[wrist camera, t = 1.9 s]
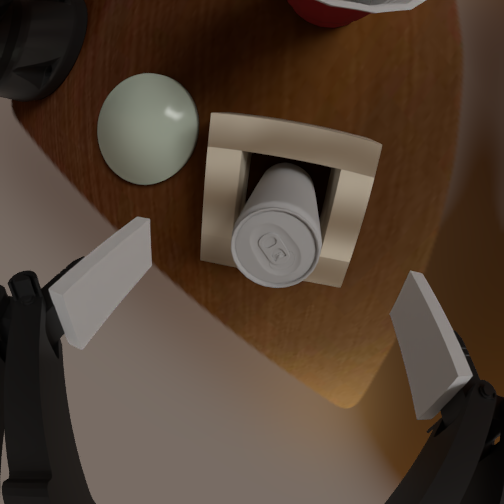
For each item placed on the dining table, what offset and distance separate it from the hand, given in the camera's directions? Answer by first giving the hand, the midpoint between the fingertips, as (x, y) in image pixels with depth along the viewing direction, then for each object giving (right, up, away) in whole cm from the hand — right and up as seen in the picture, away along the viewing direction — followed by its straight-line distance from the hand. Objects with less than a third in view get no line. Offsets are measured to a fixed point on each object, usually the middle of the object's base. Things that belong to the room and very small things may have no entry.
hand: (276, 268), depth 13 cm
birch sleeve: (+2, +6, +11) cm, 13 cm away
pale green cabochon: (-11, +13, +10) cm, 20 cm away
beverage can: (+2, +7, +12) cm, 13 cm away
